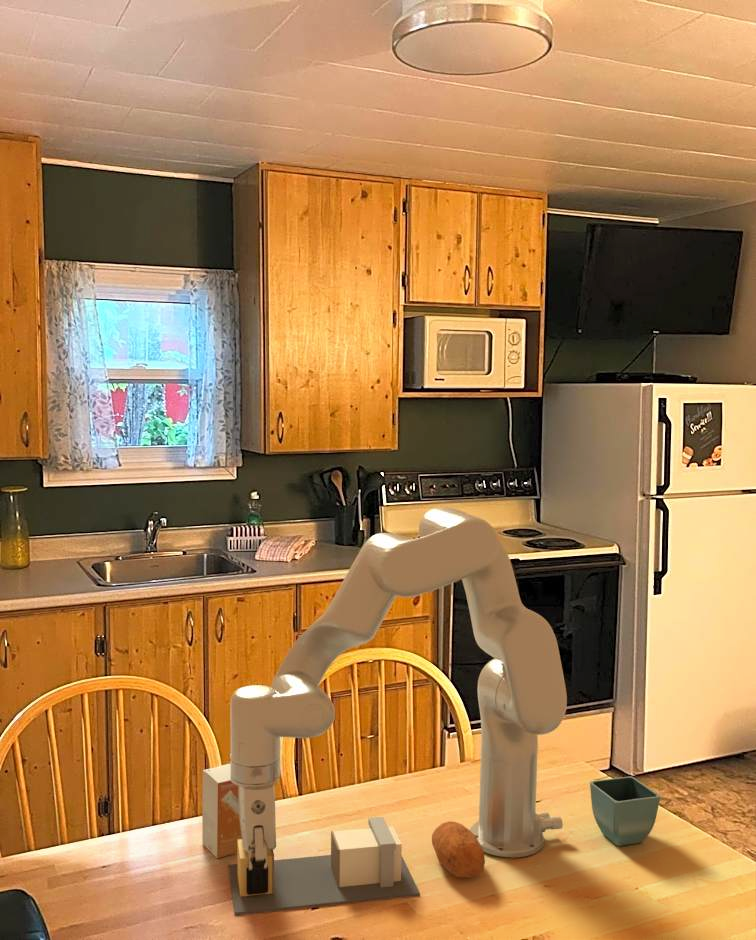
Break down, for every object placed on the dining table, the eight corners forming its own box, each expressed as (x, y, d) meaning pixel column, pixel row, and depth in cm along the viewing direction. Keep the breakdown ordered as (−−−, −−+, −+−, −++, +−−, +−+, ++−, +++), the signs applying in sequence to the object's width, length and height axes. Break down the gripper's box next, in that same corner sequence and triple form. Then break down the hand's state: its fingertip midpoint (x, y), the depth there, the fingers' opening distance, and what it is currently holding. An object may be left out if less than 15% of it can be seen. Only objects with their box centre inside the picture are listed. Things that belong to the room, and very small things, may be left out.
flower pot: (630, 823, 171) (632, 775, 170) (659, 846, 163) (661, 796, 162) (586, 830, 169) (588, 780, 168) (614, 854, 160) (616, 802, 159)
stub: (269, 873, 152) (269, 836, 151) (274, 893, 146) (274, 855, 145) (237, 876, 151) (237, 839, 150) (240, 897, 145) (240, 858, 144)
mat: (398, 850, 160) (398, 848, 160) (419, 895, 147) (420, 893, 147) (228, 867, 154) (228, 864, 154) (234, 915, 141) (234, 912, 141)
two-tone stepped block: (389, 857, 157) (390, 816, 157) (403, 886, 149) (404, 842, 148) (329, 863, 155) (329, 821, 154) (339, 892, 146) (339, 848, 146)
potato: (445, 890, 148) (446, 846, 148) (425, 850, 161) (426, 809, 160) (490, 886, 150) (491, 842, 149) (466, 846, 162) (467, 806, 161)
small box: (217, 860, 156) (217, 783, 155) (201, 843, 162) (201, 769, 160) (262, 847, 161) (262, 772, 160) (245, 831, 166) (245, 759, 165)
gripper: (287, 790, 139) (286, 909, 141) (273, 745, 155) (273, 851, 157) (234, 795, 137) (234, 915, 139) (226, 748, 154) (227, 856, 156)
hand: (255, 880), depth 148 cm, fingers closed on stub, 6 cm apart
